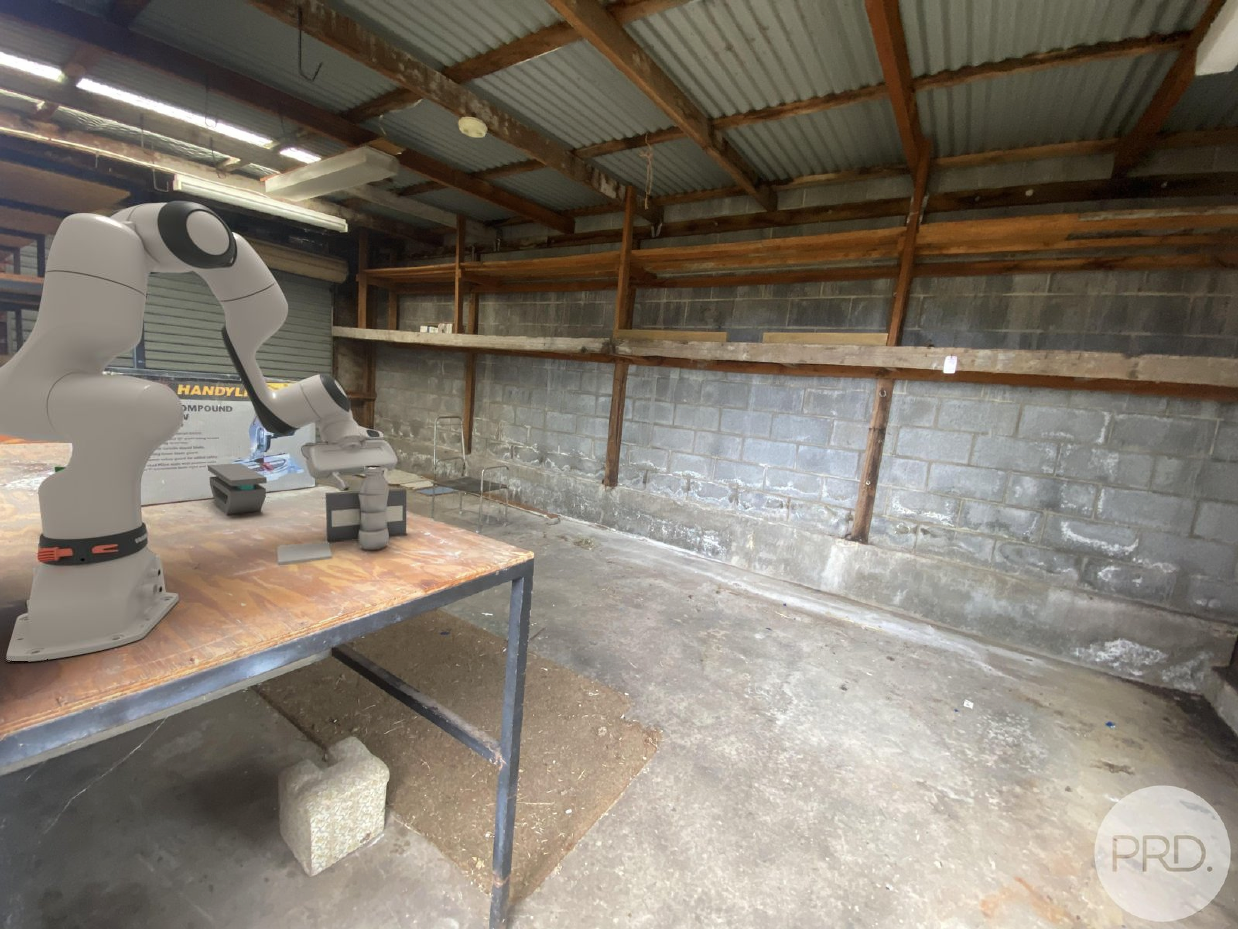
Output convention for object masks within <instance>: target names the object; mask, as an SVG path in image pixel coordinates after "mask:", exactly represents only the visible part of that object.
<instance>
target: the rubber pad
mask: <svg viewBox="0 0 1238 929" xmlns="http://www.w3.org/2000/svg"><path fill="white" fill-rule="evenodd" d="M329 559H333V554H332V551H331V548H330V544H329V543H328V541H327V540H326V541H316V542H305V543H297V544H296V543H295V544H288V545H277V564H278V565H279V566H280V565H288V564H297V563H304V562H305V563H307V562H313V561H320V560H321V561H322V560H329Z"/></svg>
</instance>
